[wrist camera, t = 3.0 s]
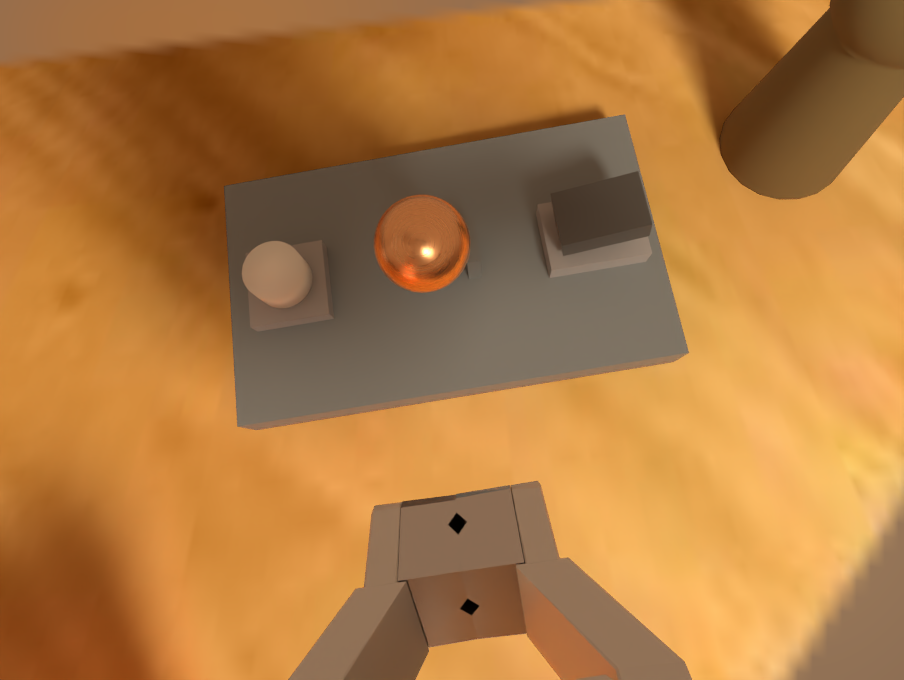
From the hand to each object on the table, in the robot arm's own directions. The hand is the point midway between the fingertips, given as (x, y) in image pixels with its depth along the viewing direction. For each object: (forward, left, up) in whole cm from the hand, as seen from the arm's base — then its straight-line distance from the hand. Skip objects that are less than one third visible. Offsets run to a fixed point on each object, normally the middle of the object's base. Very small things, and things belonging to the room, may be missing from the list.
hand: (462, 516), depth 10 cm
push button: (-7, +10, -12) cm, 17 cm away
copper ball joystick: (0, +10, -12) cm, 16 cm away
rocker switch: (+7, +10, -11) cm, 16 cm away
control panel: (0, +10, -15) cm, 18 cm away
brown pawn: (+18, +14, -15) cm, 28 cm away
